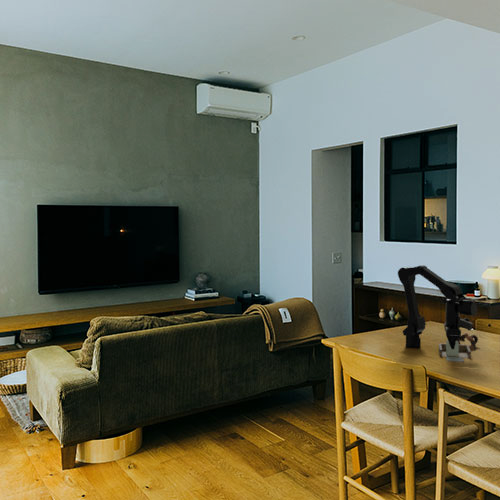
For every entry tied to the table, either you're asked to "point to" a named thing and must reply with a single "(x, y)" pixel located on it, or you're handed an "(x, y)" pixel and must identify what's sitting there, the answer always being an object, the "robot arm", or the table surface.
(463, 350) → the walnut crate
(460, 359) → the slate tile
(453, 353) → the sage block
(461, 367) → the table surface
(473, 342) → the pottery mug
